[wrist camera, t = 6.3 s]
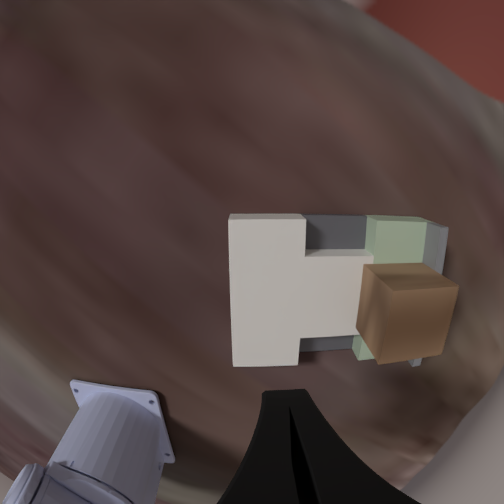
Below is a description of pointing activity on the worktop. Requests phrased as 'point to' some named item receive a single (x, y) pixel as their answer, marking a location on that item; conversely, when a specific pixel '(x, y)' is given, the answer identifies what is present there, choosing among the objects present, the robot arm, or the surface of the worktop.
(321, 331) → the board
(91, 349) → the worktop surface
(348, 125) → the worktop surface
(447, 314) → the walnut block
